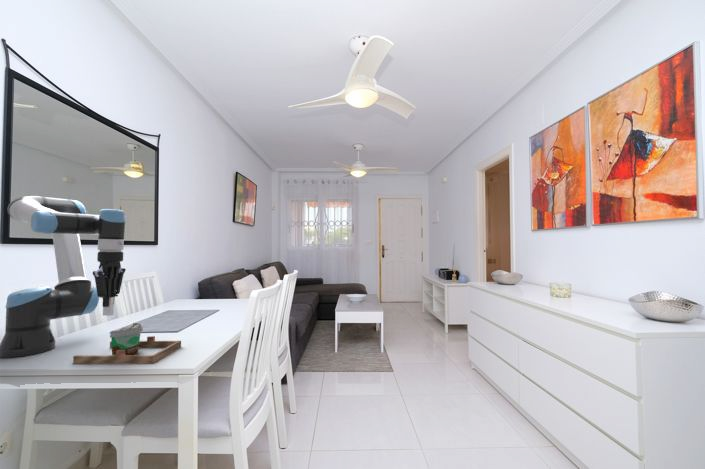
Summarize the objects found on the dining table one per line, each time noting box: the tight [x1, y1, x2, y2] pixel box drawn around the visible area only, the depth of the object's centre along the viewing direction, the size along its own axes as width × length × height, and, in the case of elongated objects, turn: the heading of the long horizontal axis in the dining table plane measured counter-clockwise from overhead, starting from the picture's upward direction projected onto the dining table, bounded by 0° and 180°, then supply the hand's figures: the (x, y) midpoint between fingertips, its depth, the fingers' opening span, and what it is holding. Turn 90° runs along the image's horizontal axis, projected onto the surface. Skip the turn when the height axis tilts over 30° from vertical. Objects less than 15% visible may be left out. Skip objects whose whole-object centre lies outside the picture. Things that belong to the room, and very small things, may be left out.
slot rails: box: [72, 335, 182, 365], centre depth 112 cm, size 27×17×4 cm, turn 91°
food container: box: [109, 322, 144, 355], centre depth 113 cm, size 12×6×10 cm, turn 1°
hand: (108, 314), depth 113 cm, fingers closed
